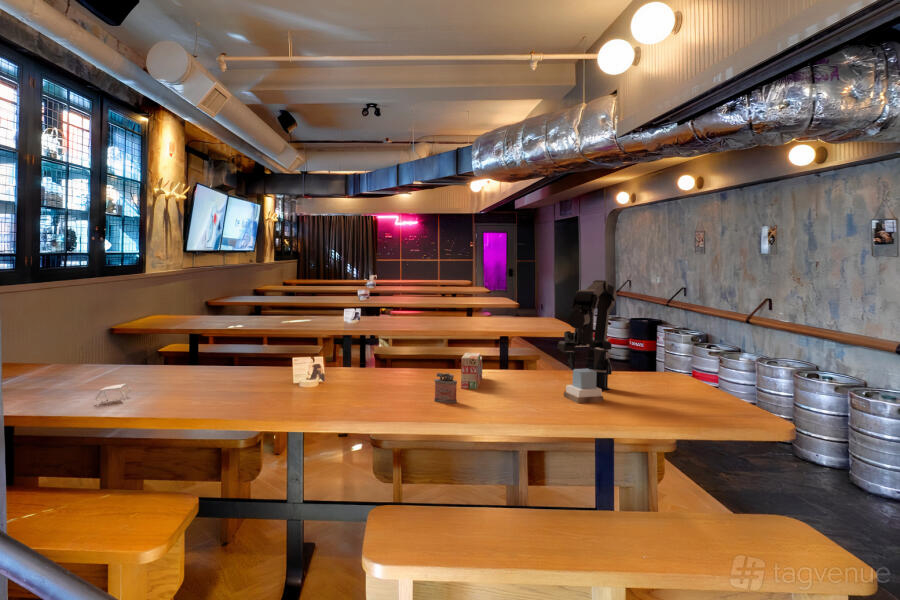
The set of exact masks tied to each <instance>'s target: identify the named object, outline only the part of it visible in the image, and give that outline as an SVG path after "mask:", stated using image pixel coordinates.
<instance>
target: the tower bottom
mask: <svg viewBox="0 0 900 600" xmlns="http://www.w3.org/2000/svg"><path fill="white" fill-rule="evenodd" d="M563 397H564V398H566V399H568V400H570V401H572V402H574V403H576V404H587V403H601V402H604V396H603V395H602V396H596V397H580V398H579V397H576V396H574V395H572V394H570V393H567V392H566V391H563Z"/></svg>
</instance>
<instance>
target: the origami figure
mask: <svg viewBox="0 0 900 600" xmlns="http://www.w3.org/2000/svg"><path fill="white" fill-rule="evenodd" d="M123 388H127V389H129V390H128V391H127V393H126V394H125V393H124V391H123V390H122V389H123ZM114 390H115V391H116V390H117V391H118V390H119V391H120V393H121V395H122V396H121V397H120V399H119V400H120V402H121V403H124V400H123V398H124V396H125V397H126V398H129V396H128V395H129V394H130V393H131V392H132V391H133V388H132V387H130V386H129V385H128V383H122V384H115V385H109V386H104V387H103V388H102V389H99V392H98V394H97V396H95V399H94V400H96V401H99V402H100V403H99V404H100V405H101V404H102V403H103V402H104V401H103V400H101V399H99V397H100V396H101V394H103V395H104V396H105V398H106V400H105V401H106V402H108V401H109V397H108V394H107V392H108V391H114ZM107 400H108V401H107Z"/></svg>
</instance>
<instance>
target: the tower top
mask: <svg viewBox="0 0 900 600" xmlns="http://www.w3.org/2000/svg"><path fill="white" fill-rule="evenodd" d="M565 392H567V393H570V394H572V395H574V396H576V397H579V398H580V397H596V396H603V394H602V392H603V390H602V389H600V388H598V387H596V388H595V389H579V388H577V387H574V386H572V384H567V385H565Z"/></svg>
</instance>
